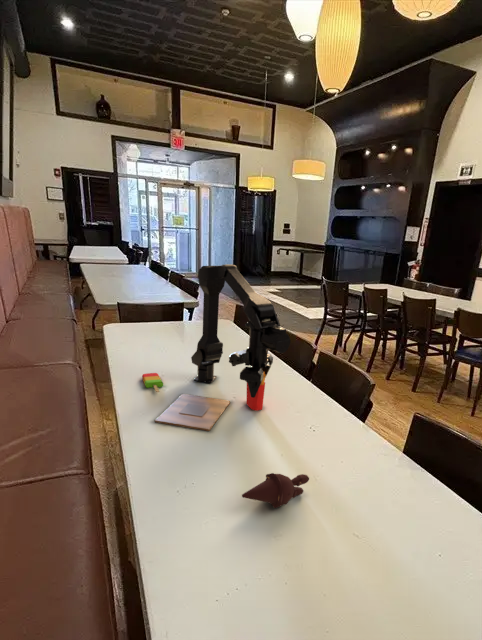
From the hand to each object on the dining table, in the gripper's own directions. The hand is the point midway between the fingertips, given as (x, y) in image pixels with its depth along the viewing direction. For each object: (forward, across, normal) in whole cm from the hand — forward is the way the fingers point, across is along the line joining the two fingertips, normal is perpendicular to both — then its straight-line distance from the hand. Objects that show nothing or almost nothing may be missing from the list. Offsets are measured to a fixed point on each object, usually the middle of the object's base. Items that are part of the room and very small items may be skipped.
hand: (255, 392), depth 128 cm
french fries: (+5, 0, 0) cm, 5 cm away
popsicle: (+5, -4, -36) cm, 36 cm away
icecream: (+5, +45, +15) cm, 48 cm away
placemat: (+4, +10, -16) cm, 20 cm away
